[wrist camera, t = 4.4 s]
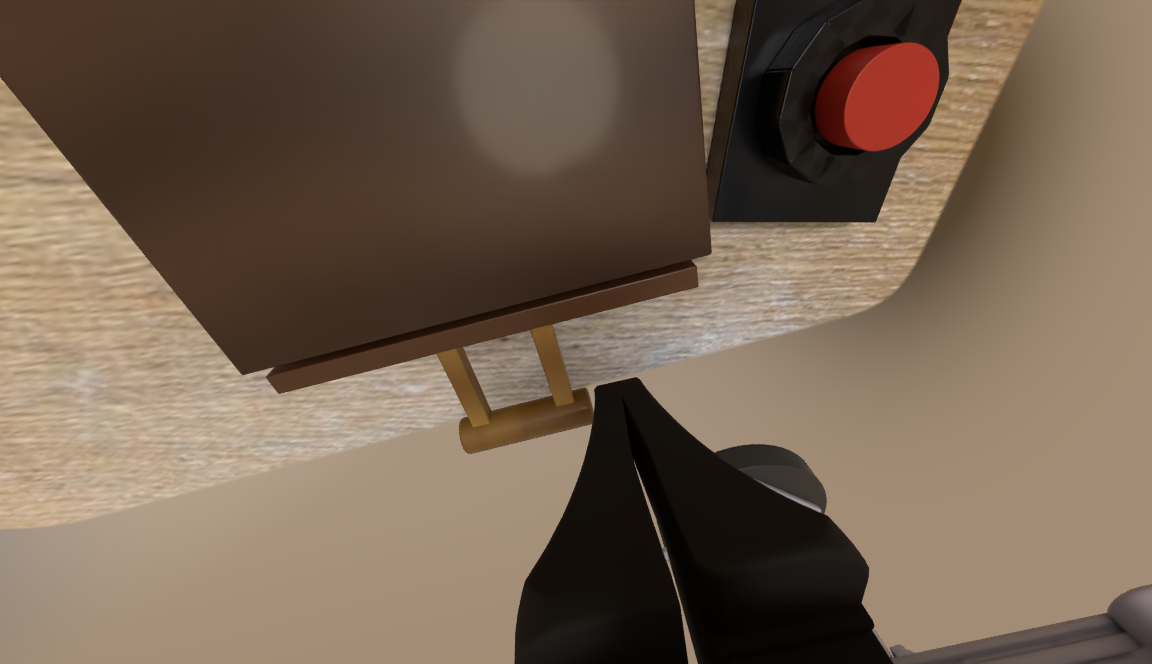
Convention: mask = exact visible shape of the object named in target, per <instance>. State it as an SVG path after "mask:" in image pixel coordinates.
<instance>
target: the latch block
mask: <svg viewBox="0 0 1152 664" xmlns="http://www.w3.org/2000/svg"><path fill="white" fill-rule="evenodd" d="M961 1H962V0H737V4H736V9H735V15H734V21H733V26H732V32H731V38H730V43H729V49H728V55H727V60H726V66H725V72H724V77H723V83H722V89H721V94H720V100H719V106H718V111H717V117H716V123H715V129H714V134H713V140H712V146H711V151H710V157H709V163H708V168H707V174H706V178H707V192H708V207H709V219H710V220H711V221H713V222H876V220H877V218H878V215H879V212H880V210H881V207H882V205H883V202H884V200H885V197H886V194H887V192H888V189H889V187H890V184H891V181H892V179H893V176H894V174H895V171H896V169H897V166H898V163H899V161H900V158H901V157H902V156H903V155H904V153H905V152H906V151H907V150H908V149H909V148H910V147H911V146H912V144H913V143H914V142H915V141H916V140H917V139H918V138H919V137H920V135H921V134H922V133H923V132H924V131H925V130H926V129H927V127H928V126H929V124H930V122H931V119H932V117H933V115H934V112H935V110H936V107H937V105H938V102H939V100H940V97H941V95H942V92H943V90H944V87H945V85H946V82H947V80H948V76H949V63H948V39H947V37H948V34H949V32H950V29H951V27H952V24H953V22H954V19H955V16H956V14H957V11H958V9H959V6H960V4H961ZM907 42H912V43H918V44H920V45H923V46H924V47H926V48H927V49H929V50H930V51H931V52H932V54H933V55H934V57H935V59H936V61H937V64H938V67H939V86H938V91H937V95H936V98H935V101H934V103H933V105H932V107H931V109H930V111H929V113H928V115H927V116H926V118H925V119H924V121H923V122H922V123H921V124H920V126H919V127H918V128H917V129H916V130H915V131H914V132H913V133H912V134H911V135H910V136H909V137H908V138H906V139H905V140H903V141H902V142H900V143H899V144H897V145H895V146H893V147H891V148H888V149H885V150H881V151H865V150H860V149H854V148H849V147H843V146H838V145H834V144H832V143H829V142H828V141H826V140H825V139H824V138H823V137H822V136H821V134H820V133H819V131H818V129H817V126H816V122H815V103H816V98H817V95H818V92H819V90H820V87H821V85H822V83H823V81H824V80H825V78H826V76H827V75H828V73H829V72H830V71H831V70H832V68H833V67H834V66H835V65H836V64H837V63H838V62H839V61H840V60H842V59H843V58H844V57H846V56H847V55H849V54H850V53H852V52H854V51H856V50H859V49H862V48H866V47H873V46H881V45H889V44H897V43H907Z"/></svg>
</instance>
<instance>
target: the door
mask: <svg viewBox="0 0 1152 664" xmlns="http://www.w3.org/2000/svg"><path fill="white" fill-rule="evenodd" d="M696 287H698V275H697V266H696V265H695V264H694V263H693V262H692V261H691V260H688V261H684V262H680V263H676V264H672V265H668V266H664V267H660V268H656V269H653V270H649V271H645V272H641V273H637V274H633V275H629V276H625V277H622V278H618V279H614V280H610V281H606V282H602V283H598V284H594V285H591V286H587V287H583V288H579V289H575V290H571V291H567V292H563V293H559V294H556V295H552V296H548V297H544V298H540V299H536V300H532V301H528V302H525V303H521V304H517V305H513V306H509V307H505V308H501V309H497V310H494V311H490V312H486V313H482V314H478V315H474V316H470V317H466V318H462V319H459V320H455V321H451V322H447V323H443V324H439V325H435V326H431V327H428V328H424V329H420V330H416V331H412V332H408V333H404V334H400V335H397V336H393V337H389V338H385V339H381V340H377V341H373V342H369V343H365V344H362V345H358V346H354V347H350V348H346V349H342V350H338V351H334V352H331V353H327V354H323V355H319V356H315V357H311V358H307V359H303V360H300V361H296V362H292V363H288V364H284V365H280V366H276V367H274V368H273V370H272V371H271V372H270V373H269V374H268V375H267V376H266V378H267V380H268V381H269V382H270V383H271V385H272V386H273V387H274V389H275V390H276V391H277V392H278V393H279V394H281V393H285V392H289V391H293V390H297V389H301V388H304V387H308V386H312V385H316V384H320V383H324V382H328V381H332V380H336V379H340V378H344V377H347V376H351V375H355V374H359V373H363V372H367V371H371V370H375V369H379V368H383V367H387V366H391V365H394V364H398V363H402V362H406V361H410V360H414V359H418V358H422V357H426V356H430V355H434V354H437V355H438V357H439V359H440V361H441V363H442V365H443V367H444V370H445V372H446V374H447V376H448V378H449V380H450V382H451V384H452V386H453V388H454V390H455V392H456V394H457V396H458V398H459V400H460V402H461V404H462V406H463V408H464V410H465V412H466V414H467V416H468V417H464V418H462V419H461V421H460V424H459V435H460V440H461V444H462V446H463V449H464V450H465V452H466V453H468V454H472V453H477V452H481V451H484V450H489V449H493V448H497V447H501V446H505V445H509V444H513V443H517V442H521V441H525V440H529V439H533V438H538V437H542V436H546V435H549V434H554V433H557V432H562V431H566V430H570V429H574V428H578V427H582V426H586V425H590V424H592V423H593V417H594V412H593V408H592V403H591V400H590V396H589V392H588V389H586V388H580V389H576V390H572V387H571V384H570V380H569V377H568V374H567V370H566V367H565V364H564V361H563V357H562V354H561V351H560V348H559V344H558V341H557V338H556V334H555V331H554V328H553V325H552V324H555V323H559V322H563V321H567V320H571V319H574V318H578V317H582V316H586V315H590V314H594V313H598V312H602V311H606V310H610V309H614V308H618V307H621V306H625V305H629V304H633V303H637V302H641V301H645V300H649V299H653V298H657V297H661V296H664V295H668V294H672V293H676V292H680V291H684V290H688V289H692V288H696ZM528 330H530V331H531V334H532V337H533V340H534V343H535V346H536V349H537V352H538V355H539V358H540V361H541V363H542V366H543V369H544V372H545V375H546V378H547V381H548V384H549V387H550V390H551V393H552V396H548V397H544V398H540V399H536V400H532V401H528V402H524V403H520V404H516V405H512V406H508V407H504V408H500V409H496V410H492V411H491V409H490V407H489V405H488V402H487V400H486V398H485V396H484V393H483V391H482V389H481V387H480V384H479V382H478V380H477V378H476V376H475V373H474V371H473V369H472V367H471V364H470V362H469V360H468V358H467V356H466V353H465V351H464V349H463V347H465V346H469V345H473V344H477V343H481V342H484V341H488V340H492V339H496V338H500V337H504V336H508V335H512V334H516V333H520V332H524V331H528Z"/></svg>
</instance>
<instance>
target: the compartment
mask: <svg viewBox="0 0 1152 664" xmlns="http://www.w3.org/2000/svg"><path fill="white" fill-rule="evenodd" d="M0 77H1V79H2V80H3V81H4V82H5V83H6V85H7V86H8V87H9V88H10V90H11V91H12V92H13V93H14V95H15V96H16V97H17V98H18V100H19V101H20V102H21V103H22V104H23V106H24V107H25V108H26V109H27V111H28V112H29V113H30V114H31V116H32V117H33V118H34V119H35V120H36V122H37V123H38V124H39V125H40V127H41V128H42V129H43V130H44V132H45V133H46V134H47V135H48V137H49V138H50V139H51V140H52V141H53V143H54V144H55V145H56V146H57V148H58V149H59V150H60V151H61V153H62V154H63V155H64V156H65V157H66V159H67V160H68V161H69V162H70V164H71V165H72V166H73V167H74V169H75V170H76V171H77V172H78V173H79V175H80V176H81V177H82V178H83V180H84V181H85V182H86V183H87V185H88V186H89V187H90V188H91V190H92V191H93V192H94V193H95V194H96V196H97V197H98V198H99V199H100V201H101V202H102V203H103V204H104V206H105V207H106V208H107V209H108V210H109V212H110V213H111V214H112V215H113V217H114V218H115V219H116V220H117V222H118V223H119V224H120V225H121V226H122V228H123V229H124V230H125V231H126V233H127V234H128V235H129V236H130V238H131V239H132V240H133V241H134V243H135V244H136V245H137V246H138V247H139V249H140V250H141V251H142V252H143V254H144V255H145V256H146V257H147V259H148V260H149V261H150V262H151V263H152V265H153V266H154V267H155V268H156V270H157V271H158V272H159V273H160V275H161V276H162V277H163V278H164V280H165V281H166V282H167V283H168V284H169V286H170V287H171V288H172V289H173V291H174V292H175V293H176V294H177V296H178V297H179V298H180V299H181V300H182V302H183V303H184V304H185V305H186V307H187V308H188V309H189V310H190V312H191V313H192V314H193V315H194V316H195V318H196V319H197V320H198V321H199V323H200V324H201V325H202V326H203V328H204V329H205V330H206V331H207V333H208V334H209V335H210V336H211V337H212V339H213V340H214V341H215V342H216V344H217V345H218V346H219V347H220V349H221V350H222V351H223V352H224V353H225V355H226V356H227V357H228V358H229V360H230V361H231V362H232V363H233V365H234V366H235V367H236V368H237V369H238V371H239V372H240V373H241V374H242V375H246V374H249V373H253V372H257V371H261V370H265V369H268V368H272V367H276V366H280V365H284V364H288V363H292V362H296V361H300V360H303V359H307V358H311V357H315V356H319V355H323V354H327V353H331V352H334V351H338V350H342V349H346V348H350V347H354V346H358V345H362V344H365V343H369V342H373V341H377V340H381V339H385V338H389V337H393V336H397V335H400V334H404V333H408V332H412V331H416V330H420V329H424V328H428V327H431V326H435V325H439V324H443V323H447V322H451V321H455V320H459V319H462V318H466V317H470V316H474V315H478V314H482V313H486V312H490V311H494V310H497V309H501V308H505V307H509V306H513V305H517V304H521V303H525V302H528V301H532V300H536V299H540V298H544V297H548V296H552V295H556V294H559V293H563V292H567V291H571V290H575V289H579V288H583V287H587V286H591V285H594V284H598V283H602V282H606V281H610V280H614V279H618V278H622V277H625V276H629V275H633V274H637V273H641V272H645V271H649V270H653V269H656V268H660V267H664V266H668V265H672V264H676V263H680V262H684V261H688V260H691V259H695V258H699V257H703V256H707V255H710V254H711V253H712V250H711V236H710V221H709V207H708V192H707V178H706V163H705V149H704V134H703V120H702V105H701V91H700V76H699V62H698V47H697V32H696V18H695V3H694V0H0Z"/></svg>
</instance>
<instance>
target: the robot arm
mask: <svg viewBox="0 0 1152 664" xmlns="http://www.w3.org/2000/svg"><path fill="white" fill-rule="evenodd" d="M594 392H595V409H594V417H593V423H592V429H591V435H590V439H589V444H588V447H587V451H586V455H585V459H584V462H583V465H582V469H581V472H580V475H579V477H578V481H577V483H576V486H575V488H574V491H573V493H572V496H571V498H570V500H569V503H568V505H567V508H566V510H565V512H564V514H563V516H562V518H561V520H560V522H559V524H558V526H557V528H556V530H555V532H554V534H553V536H552V538H551V540H550V541H549V543H548V545H547V547H546V549H545V550H544V552H543V553H542V555H541V557H540V558H539V560H538V562H537V563H536V565H535V566H534V568H533V569H532V571H531V573H530V574H529V576H528V577H527V579H526V581H525V583H524V587H523V591H522V595H521V600H520V605H519V610H518V616H517V623H516V632H515V664H688V658H687V651H686V644H685V637H684V630H683V622H682V615H681V608H680V603H679V600H678V596H677V593H676V589H675V586H674V583H673V579H672V576H671V573H670V570H669V567H668V564H667V562H666V561H668V562H670V565H671V568H672V571H673V575H674V578H675V582H676V585H677V589H678V592H679V596H680V600H681V603H682V607H683V611H684V614H685V618H686V622H687V625H688V628H689V633H690V636H691V640H692V643H693V647H694V651H695V655H696V658H697V662H698V664H1152V584H1151V585H1146V586H1141V587H1137V588H1134V589H1131V590H1129V591H1127V592H1125V593H1123V594H1121V595H1120V596H1118V597H1117V598H1116V599H1115V600H1114V601H1113V602H1112V603H1111V604H1110V606H1109V607H1108V611H1107V613H1104V614H1099V615H1094V616H1090V617H1085V618H1080V619H1075V620H1070V621H1066V622H1061V623H1056V624H1051V625H1047V626H1042V627H1037V628H1032V629H1028V630H1023V631H1018V632H1013V633H1009V634H1004V635H999V636H995V637H990V638H985V639H981V640H976V641H971V642H966V643H961V644H956V645H952V646H947V647H942V648H938V649H933V650H929V651H923V652H918V653H914V652H912V651H910V650H906V649H905V648H904V647H903V646H902V645H895V646H893V647H890V650H891V652H892V654H893V656H894V658H893V657H892V655H891V654H890V652H889V651H888V649H887V648H886V646H885V645H884V643H883V641H882V640H881V638H880V637H879V635H878V634H877V632H876V631H875V630H872V629H873V628H874V623H873V620H872V619H871V617H870V616H869V614H868V612H867V611H866V609H865V608H864V606H863V605H862V599H863V595H864V592H865V589H866V585H867V582H868V578H869V567H868V565H867V563H866V561H865V560H864V558H863V557H862V556H861V554H860V552H859V551H858V550H857V549H856V547H855V546H854V544H853V543H852V542H851V541H850V540H849V539H848V537H847V536H846V535H845V534H844V533H843V532H842V531H841V529H839V527H838V526H837V525H836V524H835V523H834V522H833V521H832V520H831V519H830V518H829V517H828V516H827V515H825V514H822V513H821V509H820V507H819V506H818V505H816V504H814V503H811V502H809V501H807V500H804V499H802V498H799V497H797V496H795V495H792V494H790V493H788V492H785V491H783V490H780V489H778V488H776V487H773V486H771V485H768V484H766V483H764V482H761V481H759V480H757V479H754V478H752V477H750V476H748V475H747V474H745V473H743V472H742V471H740V470H738V469H737V468H735V467H734V466H732V465H731V464H729V463H728V462H727V461H725V460H724V459H722V458H721V457H719V456H718V455H717V454H715V453H714V452H713V451H711V450H710V449H709V448H707V447H706V446H705V445H703V444H702V443H701V442H700V441H698V440H697V439H696V438H695V437H694V436H692V435H691V434H690V433H689V432H688V431H687V430H686V429H684V428H683V427H682V426H681V425H680V424H679V423H678V422H677V421H676V420H675V419H674V418H673V417H672V416H671V415H670V414H669V413H668V412H667V411H666V410H665V409H664V408H663V407H662V406H661V405H660V404H659V403H658V402H657V400H656V399H655V398H653V396H652V395H651V394H650V392H649V391H648V390H647V389H646V387H645V386H644V385H643V383H642V382H641V380H640V379H638V378H637V377H635V378H630V379H626V380H622V381H617V382H613V383H608V384H604V385H599V386H597V387H596V388H595V389H594ZM634 462H635V464H636V467H637V470H638V472H639V475H640V478H641V480H642V483H643V485H644V487H645V491H646V493H647V496H648V498H649V501H650V504H651V506H652V509H653V512H654V514H655V517H656V519H657V522H658V525H659V528H660V531H661V533H662V536H663V539H664V543H665V547H664V548H663V549H662V547H661V544H660V541H659V538H658V535H657V533H656V530H655V527H654V524H653V521H652V518H651V514H650V512H649V508H648V505H647V502H646V499H645V496H644V493H643V490H642V486H641V483H640V480H639V477H638V474H637V471H636V467H635V464H634Z"/></svg>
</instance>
